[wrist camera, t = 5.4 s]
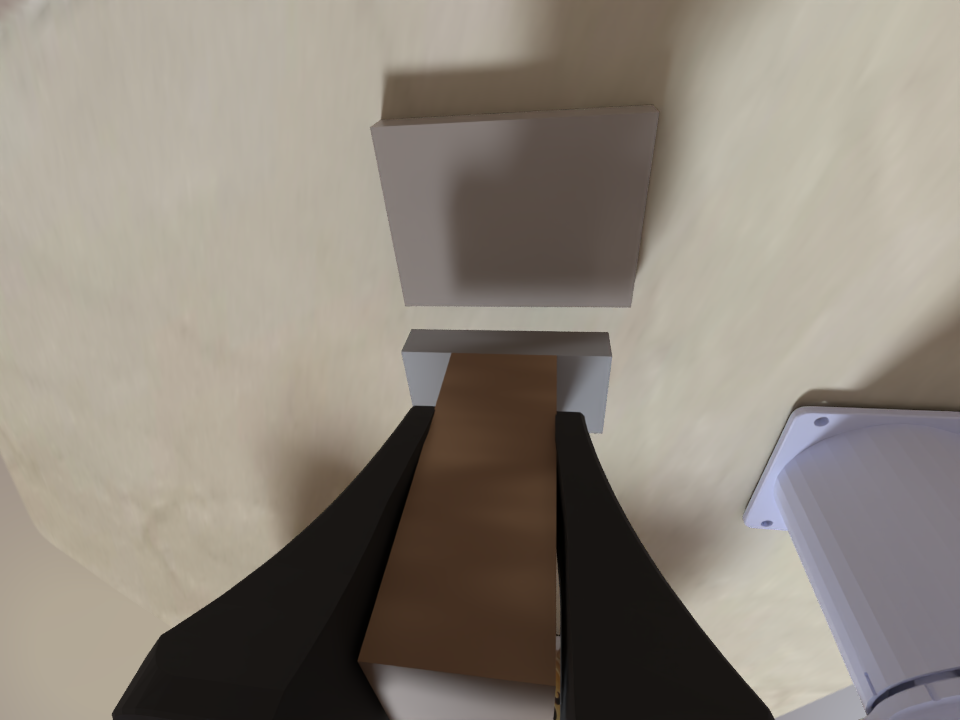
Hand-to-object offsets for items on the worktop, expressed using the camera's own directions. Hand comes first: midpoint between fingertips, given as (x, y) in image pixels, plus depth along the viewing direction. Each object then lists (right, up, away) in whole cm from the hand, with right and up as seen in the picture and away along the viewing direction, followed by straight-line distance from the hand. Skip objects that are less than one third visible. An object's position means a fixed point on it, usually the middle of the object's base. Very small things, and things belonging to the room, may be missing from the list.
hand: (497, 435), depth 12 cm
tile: (+1, +4, +5) cm, 7 cm away
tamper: (0, +2, +3) cm, 3 cm away
